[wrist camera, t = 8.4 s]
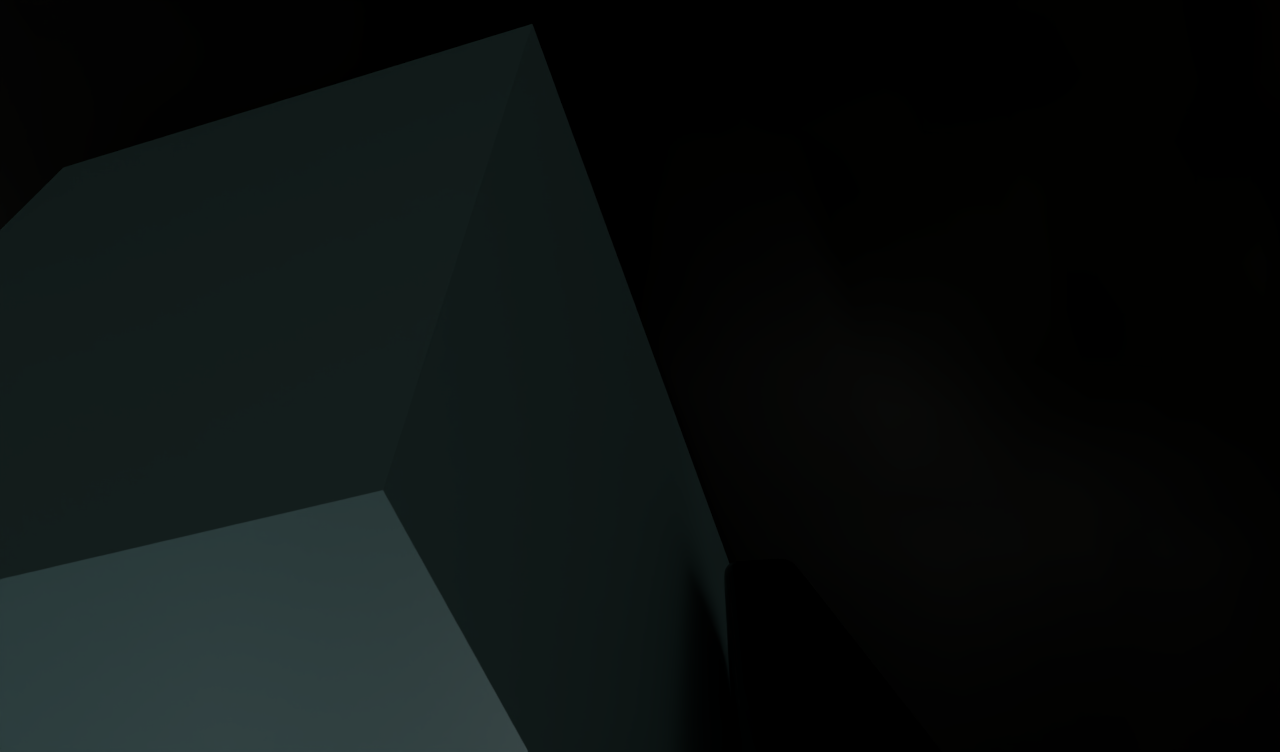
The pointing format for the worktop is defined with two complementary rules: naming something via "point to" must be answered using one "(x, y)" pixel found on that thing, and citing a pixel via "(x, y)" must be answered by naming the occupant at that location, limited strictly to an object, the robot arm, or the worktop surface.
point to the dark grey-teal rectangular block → (347, 442)
